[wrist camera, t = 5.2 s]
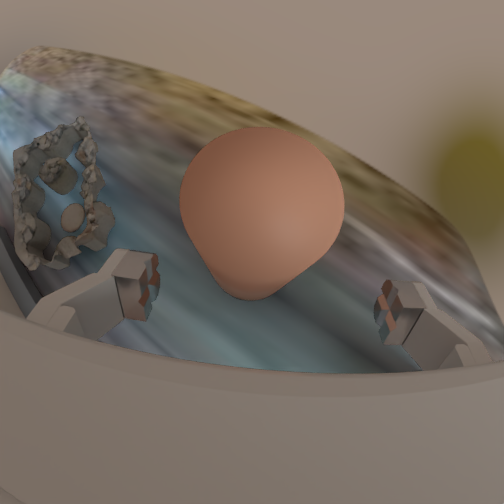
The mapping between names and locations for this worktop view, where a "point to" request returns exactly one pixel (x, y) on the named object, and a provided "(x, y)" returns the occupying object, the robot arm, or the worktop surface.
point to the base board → (15, 281)
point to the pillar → (260, 208)
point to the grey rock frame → (61, 181)
